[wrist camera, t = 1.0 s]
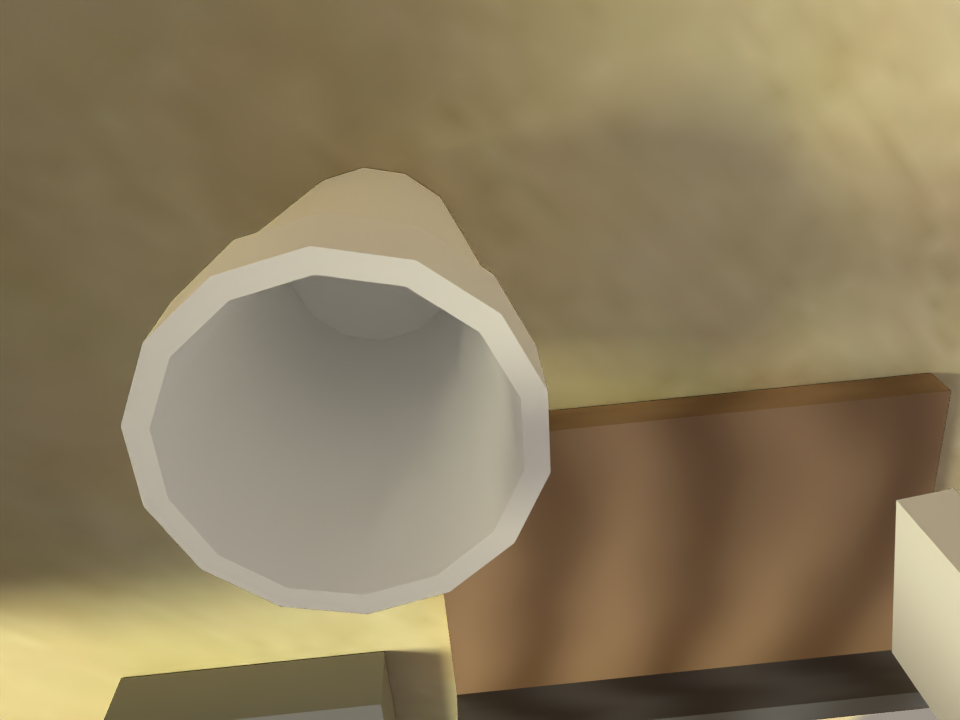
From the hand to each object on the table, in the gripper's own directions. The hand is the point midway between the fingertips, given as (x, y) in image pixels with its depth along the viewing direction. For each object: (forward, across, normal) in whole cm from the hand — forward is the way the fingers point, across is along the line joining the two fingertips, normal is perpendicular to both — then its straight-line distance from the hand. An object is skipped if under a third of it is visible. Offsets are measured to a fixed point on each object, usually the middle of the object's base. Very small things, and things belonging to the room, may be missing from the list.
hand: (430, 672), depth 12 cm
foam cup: (+21, -2, -1) cm, 21 cm away
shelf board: (+20, +8, -16) cm, 27 cm away
